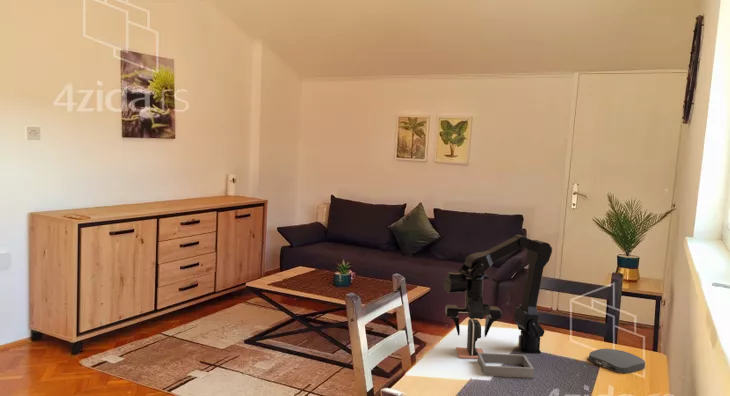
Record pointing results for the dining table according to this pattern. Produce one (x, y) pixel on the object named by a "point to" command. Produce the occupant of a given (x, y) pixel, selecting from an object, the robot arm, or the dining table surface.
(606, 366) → the media streaming box
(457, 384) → the dining table surface
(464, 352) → the mat
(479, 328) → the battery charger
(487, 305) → the robot arm
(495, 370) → the bin
